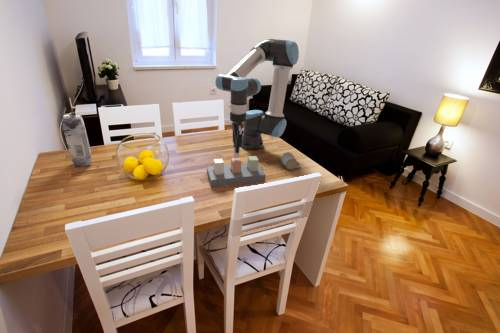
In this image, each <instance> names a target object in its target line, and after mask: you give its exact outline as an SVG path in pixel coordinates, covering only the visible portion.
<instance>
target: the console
mask: <svg viewBox="0 0 500 333" xmlns="http://www.w3.org/2000/svg"><path fill="white" fill-rule="evenodd" d="M247 164H248V162H245V163H241V173H233V174H232V172H231V164H224V174H222V175H215V174H214V165H210V166H206V174H207V179H208V182H209V184H210V188H216V186H217V187H225V185H227V186H235V184H237V185H243V184H246V185H247V184H255V183H264V182H266V174H265V172H264V170H263V169H262V167H261V166H260V164H259V163H258V171H255V172H249V171H248V169H247Z"/></svg>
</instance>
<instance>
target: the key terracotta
mask: <svg viewBox="0 0 500 333" xmlns="http://www.w3.org/2000/svg"><path fill="white" fill-rule="evenodd" d="M241 164H242V160H241V158H240V156H239V158H233V157H231V158H230V165H231V172H232V174H233V173H241Z"/></svg>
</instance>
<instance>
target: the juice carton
mask: <svg viewBox="0 0 500 333" xmlns="http://www.w3.org/2000/svg"><path fill="white" fill-rule="evenodd" d="M62 117H63V119H62V121H61V123H62V130H63V133H64V136H65V141H66V145H67V148H68V152H69V155H70V158H71V162H72V164H73V166H74V168H81V167H80V166H83V167H88V166H87V165H90V166H91V165H92V151H91V147H90V142H89V137H88V134H87V130H86V126H85V122H84V119H83V117H82V114H68V113H67V114H64V115H62Z"/></svg>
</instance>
